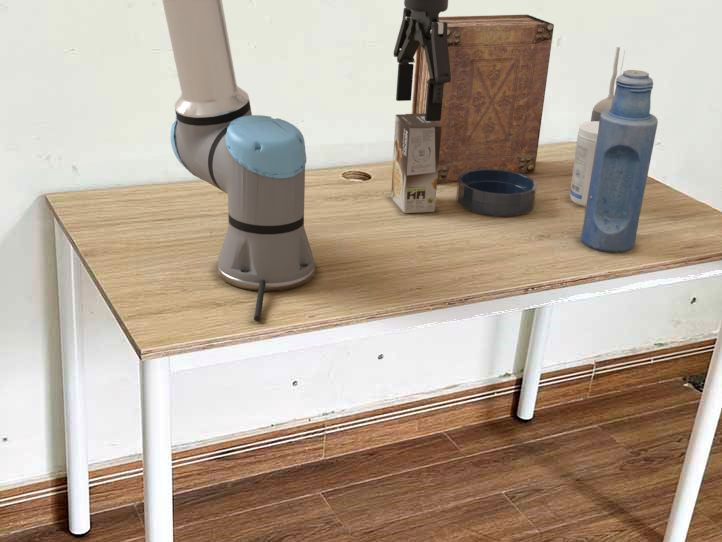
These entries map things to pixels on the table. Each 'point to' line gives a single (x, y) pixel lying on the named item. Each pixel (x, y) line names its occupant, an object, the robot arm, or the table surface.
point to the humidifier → (607, 102)
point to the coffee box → (415, 163)
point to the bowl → (496, 192)
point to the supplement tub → (583, 162)
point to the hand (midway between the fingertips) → (417, 110)
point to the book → (489, 93)
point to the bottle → (620, 166)
